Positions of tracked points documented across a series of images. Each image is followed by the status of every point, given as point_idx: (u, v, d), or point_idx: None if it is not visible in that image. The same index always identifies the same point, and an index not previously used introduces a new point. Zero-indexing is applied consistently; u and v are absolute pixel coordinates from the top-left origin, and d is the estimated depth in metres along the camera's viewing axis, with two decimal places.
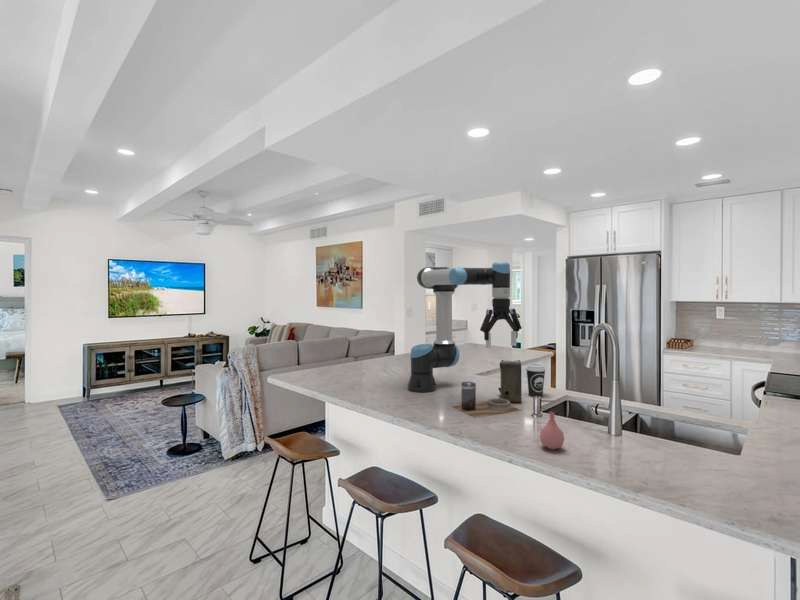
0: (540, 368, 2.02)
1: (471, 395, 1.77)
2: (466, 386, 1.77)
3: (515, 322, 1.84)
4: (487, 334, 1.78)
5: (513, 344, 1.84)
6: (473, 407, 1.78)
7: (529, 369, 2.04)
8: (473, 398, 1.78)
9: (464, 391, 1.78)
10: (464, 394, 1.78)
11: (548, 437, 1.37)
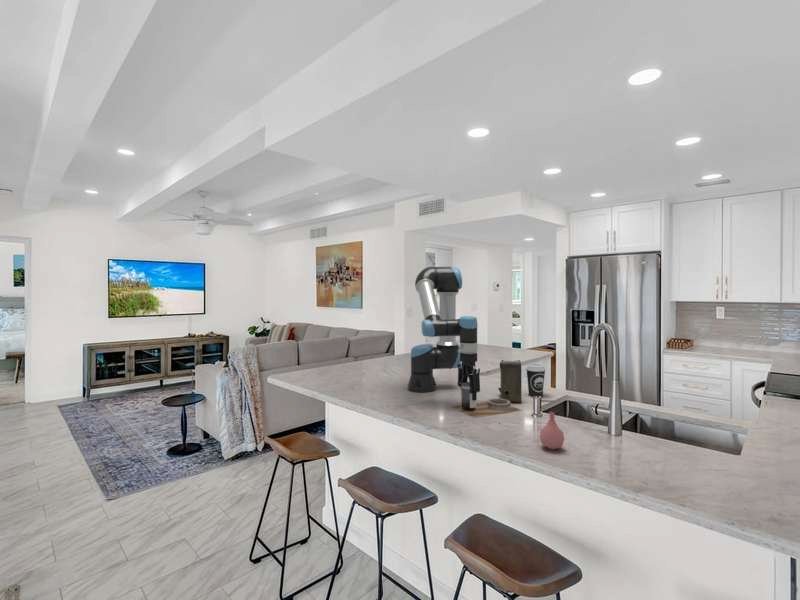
0: (540, 368, 2.02)
1: None
2: (466, 386, 1.78)
3: None
4: (461, 390, 1.84)
5: None
6: None
7: (529, 369, 2.04)
8: None
9: (464, 391, 1.78)
10: (464, 394, 1.78)
11: (548, 437, 1.37)
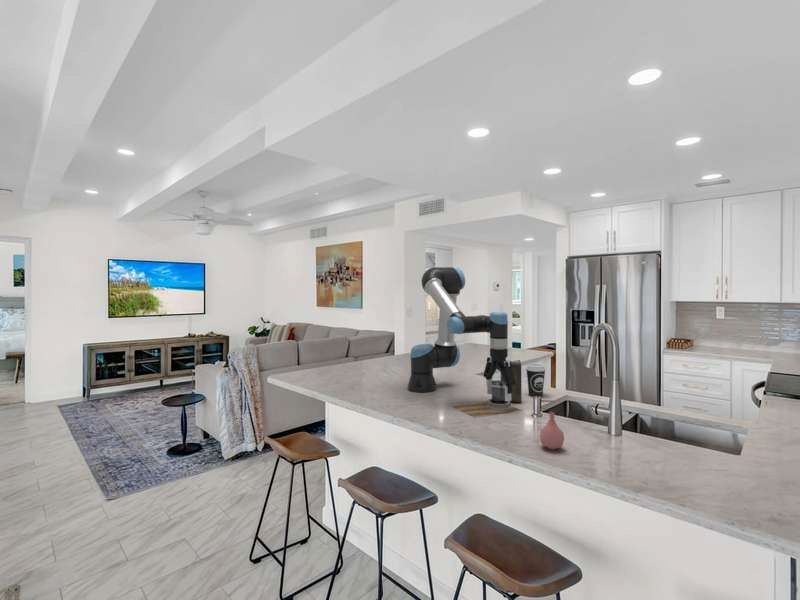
0: (540, 368, 2.02)
1: (501, 394, 1.79)
2: (497, 385, 1.79)
3: None
4: (487, 380, 1.88)
5: None
6: None
7: (529, 369, 2.04)
8: (503, 397, 1.80)
9: (494, 389, 1.80)
10: (494, 392, 1.80)
11: (548, 437, 1.37)
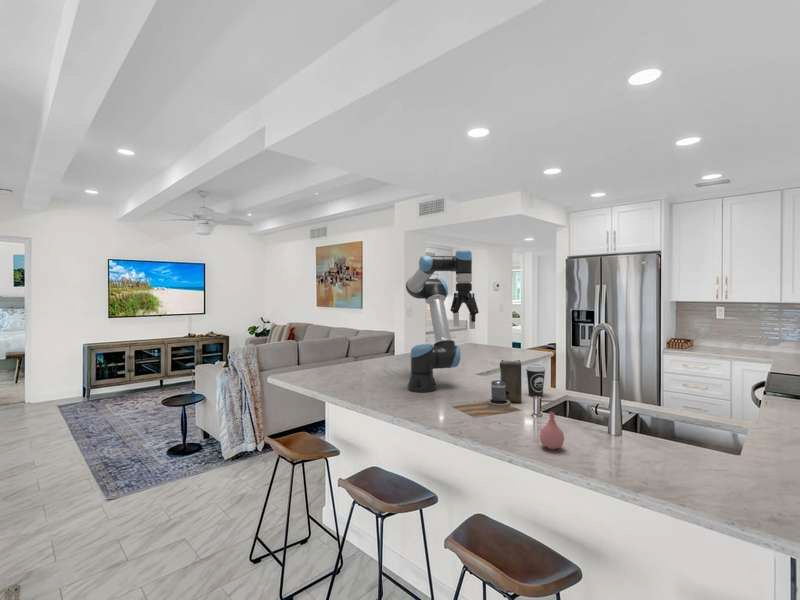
0: (540, 368, 2.02)
1: (501, 394, 1.79)
2: (496, 385, 1.79)
3: None
4: None
5: None
6: None
7: (529, 369, 2.04)
8: (503, 396, 1.80)
9: (494, 389, 1.80)
10: (494, 392, 1.80)
11: (548, 437, 1.37)
